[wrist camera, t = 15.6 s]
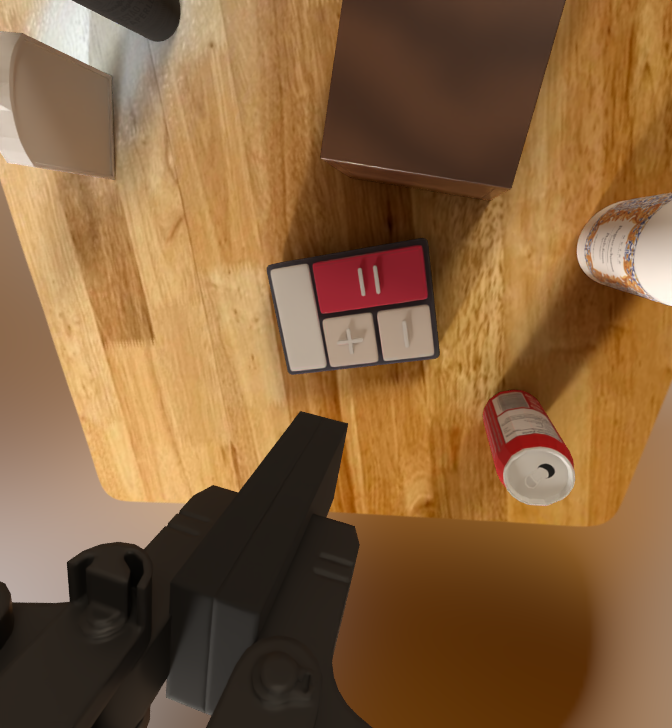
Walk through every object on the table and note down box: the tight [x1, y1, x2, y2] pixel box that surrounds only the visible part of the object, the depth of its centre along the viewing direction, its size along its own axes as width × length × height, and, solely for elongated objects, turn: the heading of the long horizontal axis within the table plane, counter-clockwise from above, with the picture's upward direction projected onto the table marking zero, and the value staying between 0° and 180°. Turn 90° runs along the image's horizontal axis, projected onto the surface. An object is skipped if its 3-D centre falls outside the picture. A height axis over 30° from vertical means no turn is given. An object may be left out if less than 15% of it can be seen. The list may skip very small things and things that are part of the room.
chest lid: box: [320, 0, 566, 190], centre depth 25 cm, size 17×13×1 cm
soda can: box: [483, 390, 575, 506], centre depth 36 cm, size 6×6×12 cm
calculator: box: [267, 238, 440, 375], centre depth 40 cm, size 11×4×15 cm
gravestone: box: [0, 31, 115, 180], centre depth 34 cm, size 3×9×18 cm, turn 171°
